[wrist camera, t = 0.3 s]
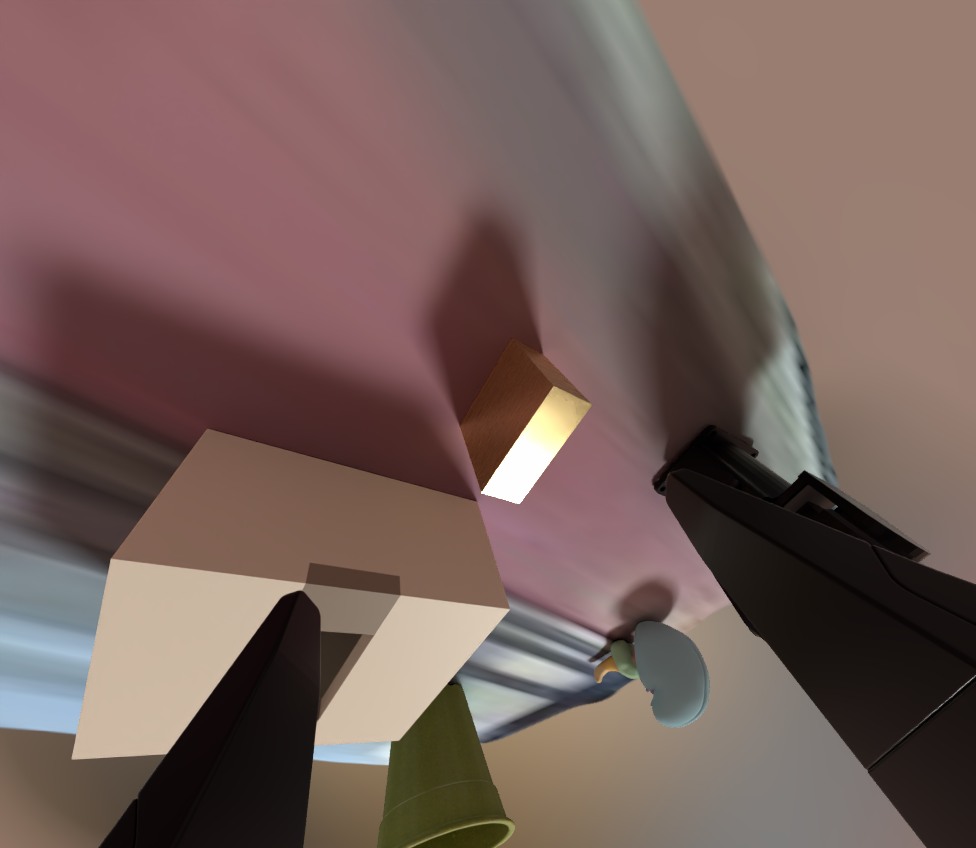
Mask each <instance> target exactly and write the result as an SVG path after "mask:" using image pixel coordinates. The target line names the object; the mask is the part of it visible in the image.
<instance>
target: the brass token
mask: <svg viewBox="0 0 976 848" xmlns="http://www.w3.org/2000/svg"><path fill="white" fill-rule="evenodd" d="M591 406H592V404H591V403H590V402H589V401H588V400H587V399H586V398H585V397H584V396H583V395H582V394H581V393H580V392H579V391H578V390H577V389H576V388H575V386H574V385H573V384H572V383H571V382H570V381H569V380H568V379H567V378H566V377H565V376H564V375H563V374H562V373H561V372H560V371H559V370H558V369H557V368H556V367H555V366H554V365H553V364H552V363H551V362H550V361H549V360H548V359H547V358H546V357H545V356H544V355H543V354H541V353H540V352H538V351H536V350H534V349H532V348H530V347H528V346H526V345H524V344H523V343H521V342H519V341H517V340H515V339H513V338H511V340H510V341H509V343H508V345H507V347H506V348H505V350H504V352H503V353H502V355H501V357H500V358H499V360H498V362H497V363H496V365H495V367H494V368H493V370H492V372H491V374H490V375H489V377H488V379H487V380H486V382H485V384H484V385H483V387H482V389H481V390H480V392H479V394H478V395H477V397H476V399H475V401H474V402H473V404H472V406H471V407H470V409H469V411H468V412H467V414H466V416H465V417H464V419H463V421H462V422H461V424H460V428H461V431H462V434H463V438H464V441H465V444H466V447H467V450H468V453H469V456H470V459H471V462H472V465H473V468H474V471H475V474H476V477H477V480H478V484H479V487H480V490H481V493H484V494H487V495H491V496H494V497H498V498H501V499H505V500H508V501H512V502H515V503H520V502H521V501H522V499H523V498H524V497H525V495H526V494H527V493H528V491H529V490H530V489H531V487H532V486H533V484H534V483H535V482H536V480H537V479H538V478H539V476H540V475H541V474H542V472H543V471H544V470H545V468H546V467H547V465H548V464H549V463H550V461H551V460H552V459H553V457H554V456H555V455H556V453H557V452H558V451H559V449H560V448H561V446H562V445H563V444H564V442H565V441H566V440H567V438H568V437H569V436H570V434H571V433H572V432H573V430H574V429H575V427H576V426H577V425H578V423H579V422H580V421H581V419H582V418H583V417H584V415H585V414H586V413H587V411H588V410H589V408H590V407H591Z"/></svg>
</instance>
